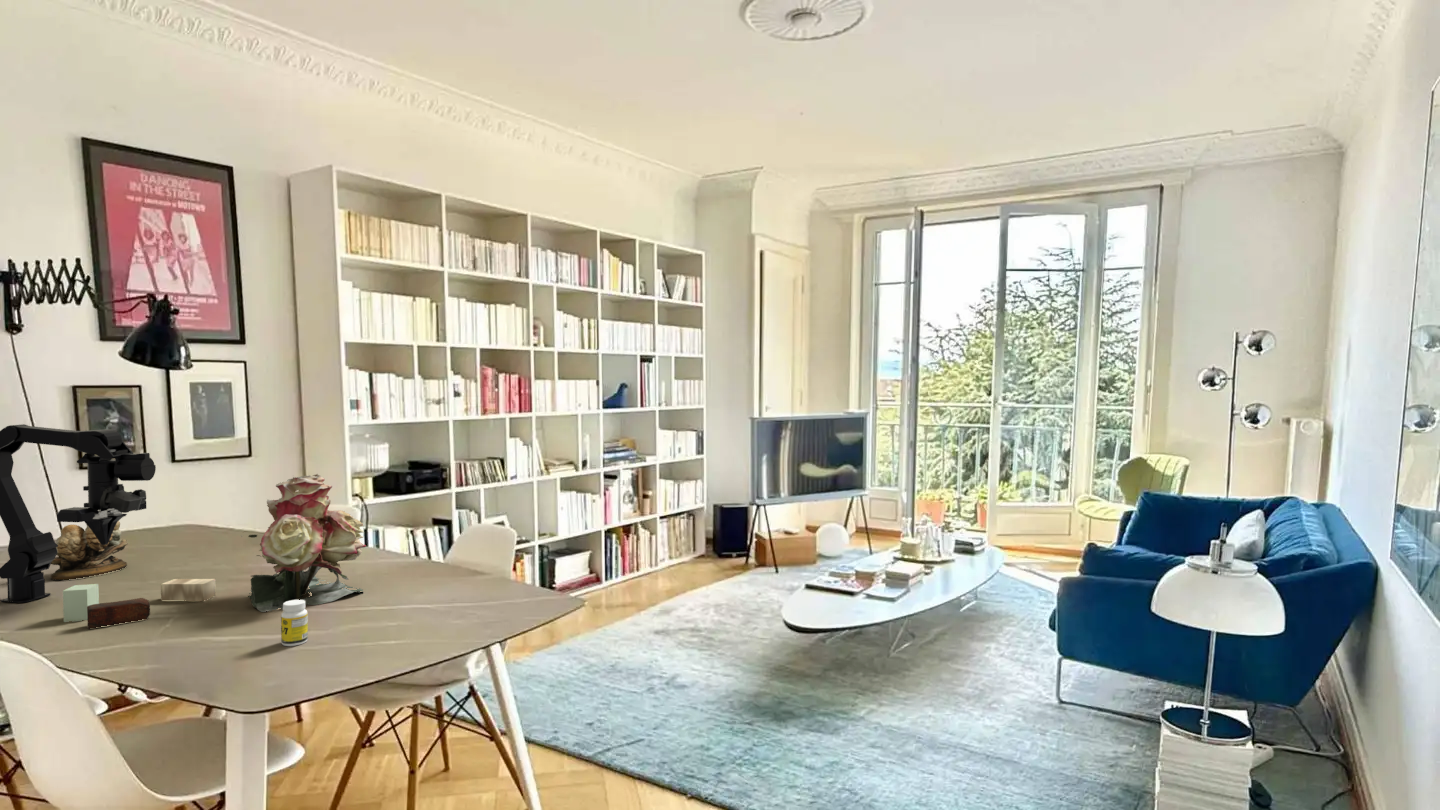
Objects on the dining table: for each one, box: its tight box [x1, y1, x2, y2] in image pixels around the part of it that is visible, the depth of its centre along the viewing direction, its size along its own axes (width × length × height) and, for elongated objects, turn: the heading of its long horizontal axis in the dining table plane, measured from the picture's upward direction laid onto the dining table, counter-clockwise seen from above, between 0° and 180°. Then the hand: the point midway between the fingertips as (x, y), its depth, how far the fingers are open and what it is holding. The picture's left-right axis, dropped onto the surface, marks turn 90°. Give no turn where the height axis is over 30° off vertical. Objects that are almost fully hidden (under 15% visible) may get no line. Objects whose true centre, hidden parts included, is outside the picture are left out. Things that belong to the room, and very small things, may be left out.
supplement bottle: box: [280, 599, 309, 647], centre depth 152 cm, size 5×5×8 cm
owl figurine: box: [50, 520, 128, 581], centre depth 204 cm, size 18×12×17 cm, turn 162°
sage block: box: [62, 583, 100, 623], centre depth 166 cm, size 4×4×7 cm
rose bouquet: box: [240, 473, 367, 613], centre depth 185 cm, size 26×29×30 cm
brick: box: [87, 597, 151, 630], centre depth 163 cm, size 11×4×5 cm, turn 132°
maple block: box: [160, 578, 217, 602], centre depth 181 cm, size 4×4×10 cm
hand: (104, 544), depth 181 cm, fingers closed
